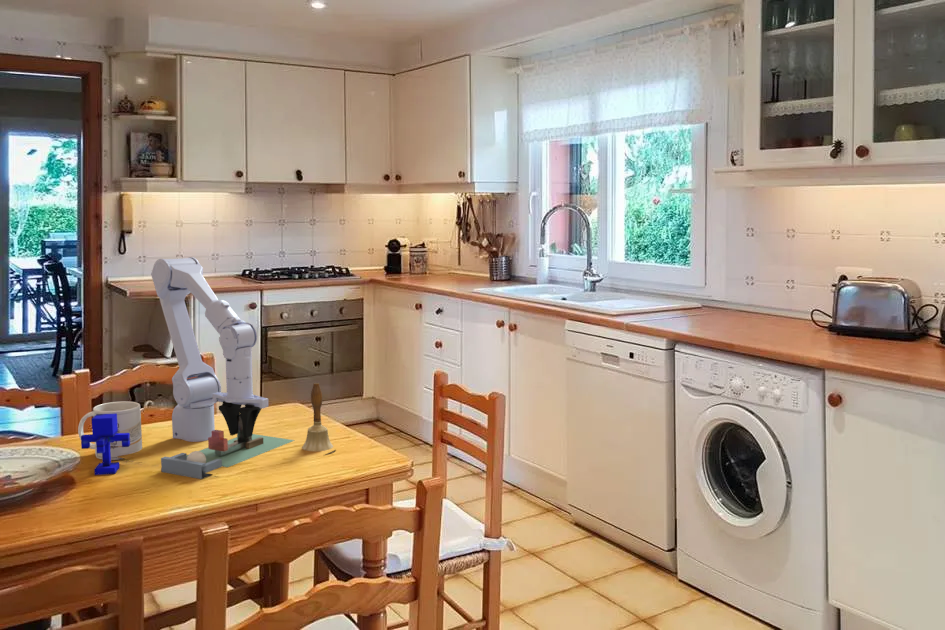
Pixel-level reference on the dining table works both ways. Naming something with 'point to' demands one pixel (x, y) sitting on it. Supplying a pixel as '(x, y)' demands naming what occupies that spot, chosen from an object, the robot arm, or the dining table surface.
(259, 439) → the rail guides
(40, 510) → the dining table surface
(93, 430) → the figurine
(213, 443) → the kicker rod
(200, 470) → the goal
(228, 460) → the mat
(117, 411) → the mug
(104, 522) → the dining table surface
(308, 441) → the hand bell
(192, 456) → the ball
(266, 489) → the dining table surface
